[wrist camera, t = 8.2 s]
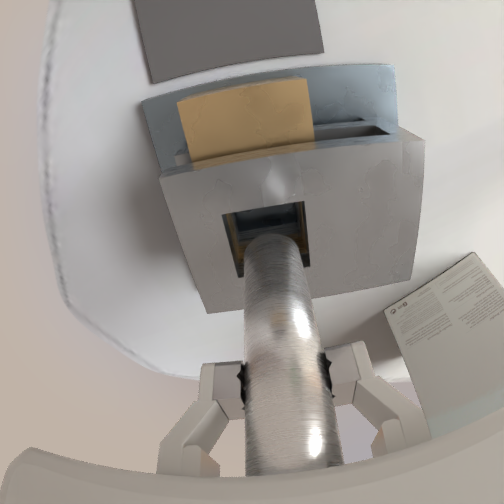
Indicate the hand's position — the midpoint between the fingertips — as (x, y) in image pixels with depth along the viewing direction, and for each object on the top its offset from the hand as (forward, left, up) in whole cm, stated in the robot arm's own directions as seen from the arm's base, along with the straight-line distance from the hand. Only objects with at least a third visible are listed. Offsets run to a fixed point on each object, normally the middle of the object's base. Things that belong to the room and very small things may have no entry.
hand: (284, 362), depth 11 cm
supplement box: (+19, +20, -16) cm, 32 cm away
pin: (0, 0, -7) cm, 7 cm away
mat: (-16, 0, -16) cm, 22 cm away
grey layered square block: (0, +2, -16) cm, 16 cm away
